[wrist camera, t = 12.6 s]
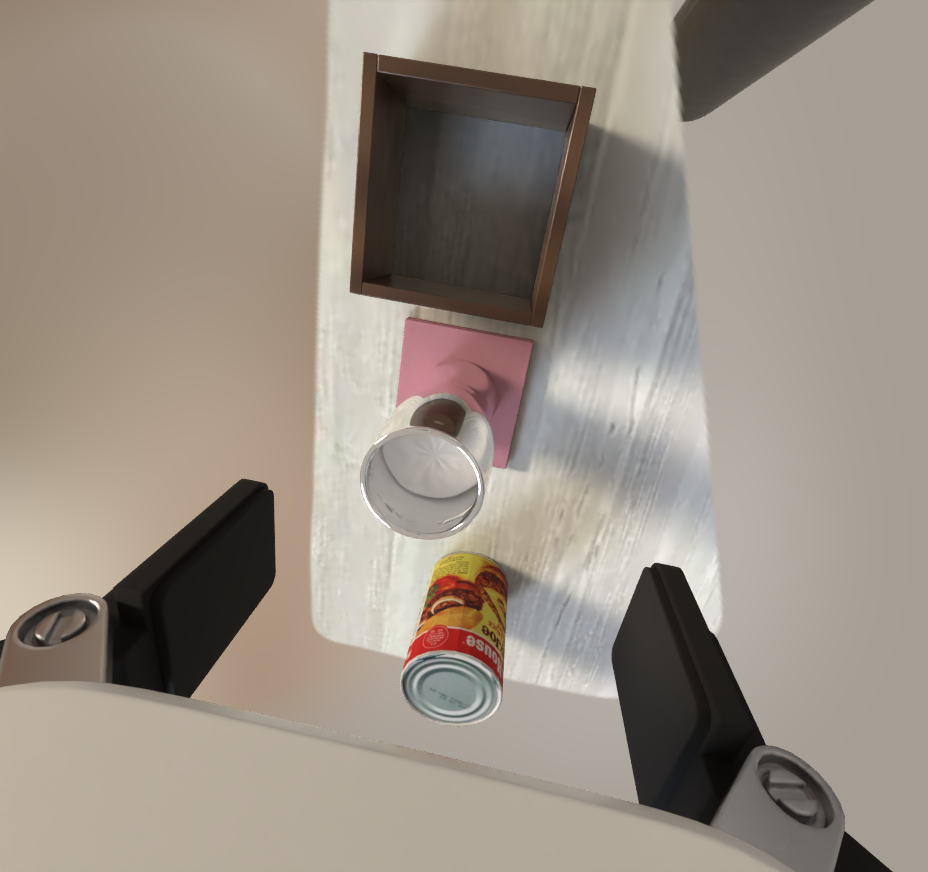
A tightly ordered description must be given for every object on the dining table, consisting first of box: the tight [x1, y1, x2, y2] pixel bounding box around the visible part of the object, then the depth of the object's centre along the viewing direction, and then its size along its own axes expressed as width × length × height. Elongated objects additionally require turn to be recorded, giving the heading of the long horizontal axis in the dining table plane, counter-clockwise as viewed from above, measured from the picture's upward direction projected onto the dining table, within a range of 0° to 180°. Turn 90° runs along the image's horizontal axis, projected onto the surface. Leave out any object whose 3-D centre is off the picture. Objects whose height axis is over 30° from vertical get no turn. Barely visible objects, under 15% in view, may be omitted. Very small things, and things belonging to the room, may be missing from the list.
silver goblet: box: [360, 361, 496, 540], centre depth 31 cm, size 7×7×15 cm
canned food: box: [400, 552, 508, 727], centre depth 41 cm, size 8×8×12 cm
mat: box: [396, 317, 533, 469], centre depth 38 cm, size 11×10×1 cm
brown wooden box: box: [350, 52, 596, 328], centre depth 30 cm, size 12×12×7 cm
